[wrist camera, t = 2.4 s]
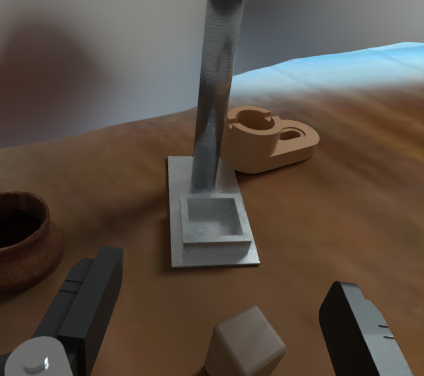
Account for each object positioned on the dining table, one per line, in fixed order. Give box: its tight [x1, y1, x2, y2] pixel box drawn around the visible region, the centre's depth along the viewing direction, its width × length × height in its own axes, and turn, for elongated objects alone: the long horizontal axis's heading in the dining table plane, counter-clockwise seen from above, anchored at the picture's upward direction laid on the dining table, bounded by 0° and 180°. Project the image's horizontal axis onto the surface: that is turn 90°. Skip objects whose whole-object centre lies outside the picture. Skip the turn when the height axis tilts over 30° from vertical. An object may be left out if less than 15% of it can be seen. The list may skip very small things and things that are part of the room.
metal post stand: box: [168, 0, 260, 269], centre depth 33 cm, size 10×20×28 cm, turn 7°
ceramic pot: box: [0, 191, 64, 293], centre depth 31 cm, size 18×18×7 cm
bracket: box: [220, 106, 319, 174], centre depth 51 cm, size 18×8×7 cm, turn 120°
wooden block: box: [204, 305, 287, 376], centre depth 25 cm, size 4×4×8 cm
